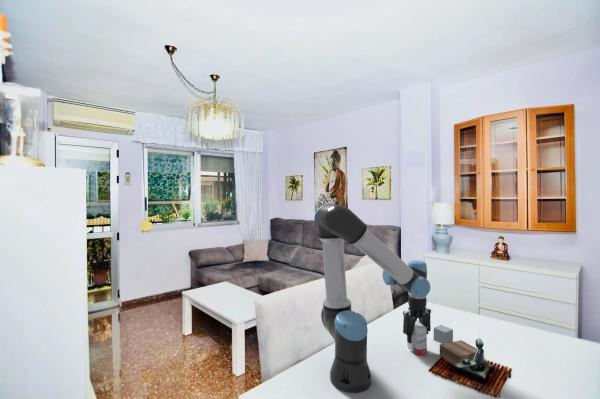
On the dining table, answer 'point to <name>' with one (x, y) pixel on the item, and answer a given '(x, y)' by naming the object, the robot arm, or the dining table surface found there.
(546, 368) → the dining table surface
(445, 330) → the slate block
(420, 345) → the ink box
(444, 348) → the walnut block
